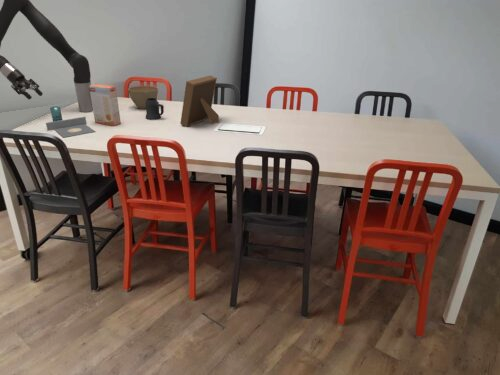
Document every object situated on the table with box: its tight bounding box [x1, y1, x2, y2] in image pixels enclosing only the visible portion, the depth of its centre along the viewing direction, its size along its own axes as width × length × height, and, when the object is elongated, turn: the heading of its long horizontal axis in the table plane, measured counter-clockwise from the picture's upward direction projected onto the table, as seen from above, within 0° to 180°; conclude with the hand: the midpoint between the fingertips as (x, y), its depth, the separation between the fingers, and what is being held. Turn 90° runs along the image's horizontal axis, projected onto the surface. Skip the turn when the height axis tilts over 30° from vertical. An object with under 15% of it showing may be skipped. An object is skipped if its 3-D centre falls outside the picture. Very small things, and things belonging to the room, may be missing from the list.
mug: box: [145, 98, 165, 121], centre depth 219 cm, size 12×9×11 cm
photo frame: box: [179, 75, 220, 128], centre depth 209 cm, size 15×22×25 cm
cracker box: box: [89, 83, 122, 127], centre depth 206 cm, size 14×6×21 cm, turn 65°
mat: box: [53, 124, 96, 139], centre depth 197 cm, size 16×16×1 cm
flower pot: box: [127, 85, 159, 110], centre depth 240 cm, size 18×18×12 cm
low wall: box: [45, 116, 88, 131], centre depth 202 cm, size 20×1×4 cm, turn 130°
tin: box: [49, 105, 64, 122], centre depth 207 cm, size 5×5×9 cm
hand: (36, 96), depth 204 cm, fingers open, 8 cm apart
